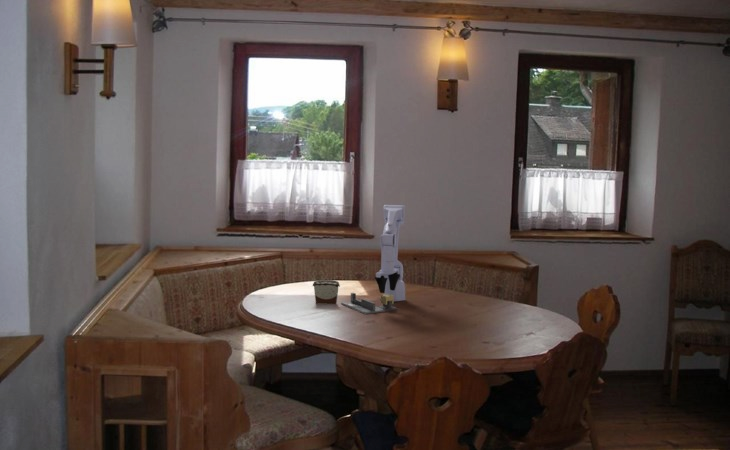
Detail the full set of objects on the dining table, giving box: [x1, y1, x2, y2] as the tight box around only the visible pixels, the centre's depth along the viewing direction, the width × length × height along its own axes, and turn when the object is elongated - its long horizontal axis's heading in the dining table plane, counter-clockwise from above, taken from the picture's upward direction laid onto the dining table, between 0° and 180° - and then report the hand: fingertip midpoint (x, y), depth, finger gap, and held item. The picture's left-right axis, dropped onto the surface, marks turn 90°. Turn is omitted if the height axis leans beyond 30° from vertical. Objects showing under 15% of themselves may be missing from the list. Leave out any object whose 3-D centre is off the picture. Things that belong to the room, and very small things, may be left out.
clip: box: [380, 294, 395, 305], centre depth 339 cm, size 4×4×4 cm
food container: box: [312, 279, 341, 306], centre depth 350 cm, size 12×6×10 cm, turn 84°
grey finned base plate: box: [377, 301, 398, 312], centre depth 340 cm, size 6×7×4 cm
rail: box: [340, 292, 386, 315], centre depth 341 cm, size 10×21×5 cm, turn 31°
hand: (387, 291), depth 339 cm, fingers open, 7 cm apart
